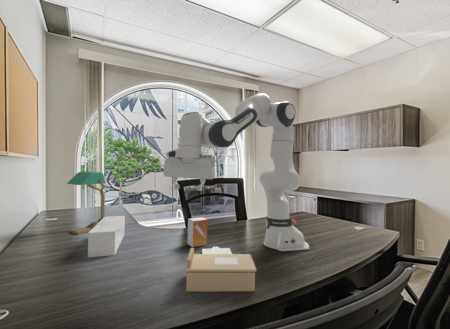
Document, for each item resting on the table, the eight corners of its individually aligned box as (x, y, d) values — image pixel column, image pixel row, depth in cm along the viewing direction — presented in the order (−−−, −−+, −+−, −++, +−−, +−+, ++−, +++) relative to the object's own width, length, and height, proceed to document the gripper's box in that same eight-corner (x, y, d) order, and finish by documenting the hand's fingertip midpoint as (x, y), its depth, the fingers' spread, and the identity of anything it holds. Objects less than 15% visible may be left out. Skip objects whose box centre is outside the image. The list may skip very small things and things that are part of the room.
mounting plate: (201, 250, 113) (201, 246, 113) (228, 250, 115) (228, 246, 115) (203, 267, 95) (203, 262, 95) (235, 266, 97) (235, 261, 97)
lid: (250, 256, 90) (250, 247, 90) (256, 271, 77) (256, 261, 77) (189, 255, 89) (189, 247, 89) (185, 271, 76) (185, 261, 76)
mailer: (249, 272, 90) (249, 257, 90) (254, 291, 77) (255, 272, 77) (190, 272, 89) (190, 256, 89) (186, 291, 76) (186, 272, 76)
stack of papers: (114, 255, 105) (115, 231, 105) (87, 257, 102) (88, 232, 102) (124, 234, 136) (124, 215, 136) (104, 235, 133) (104, 216, 133)
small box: (192, 247, 116) (193, 221, 116) (187, 244, 121) (187, 218, 121) (207, 245, 120) (207, 219, 120) (201, 241, 126) (201, 216, 126)
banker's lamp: (114, 228, 148) (115, 171, 148) (78, 236, 130) (79, 172, 130) (99, 224, 156) (100, 171, 156) (64, 231, 139) (65, 171, 139)
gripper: (217, 155, 92) (216, 191, 92) (170, 153, 98) (168, 187, 98) (212, 154, 86) (211, 192, 86) (162, 152, 92) (160, 188, 91)
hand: (188, 189), depth 92 cm, fingers open, 8 cm apart
